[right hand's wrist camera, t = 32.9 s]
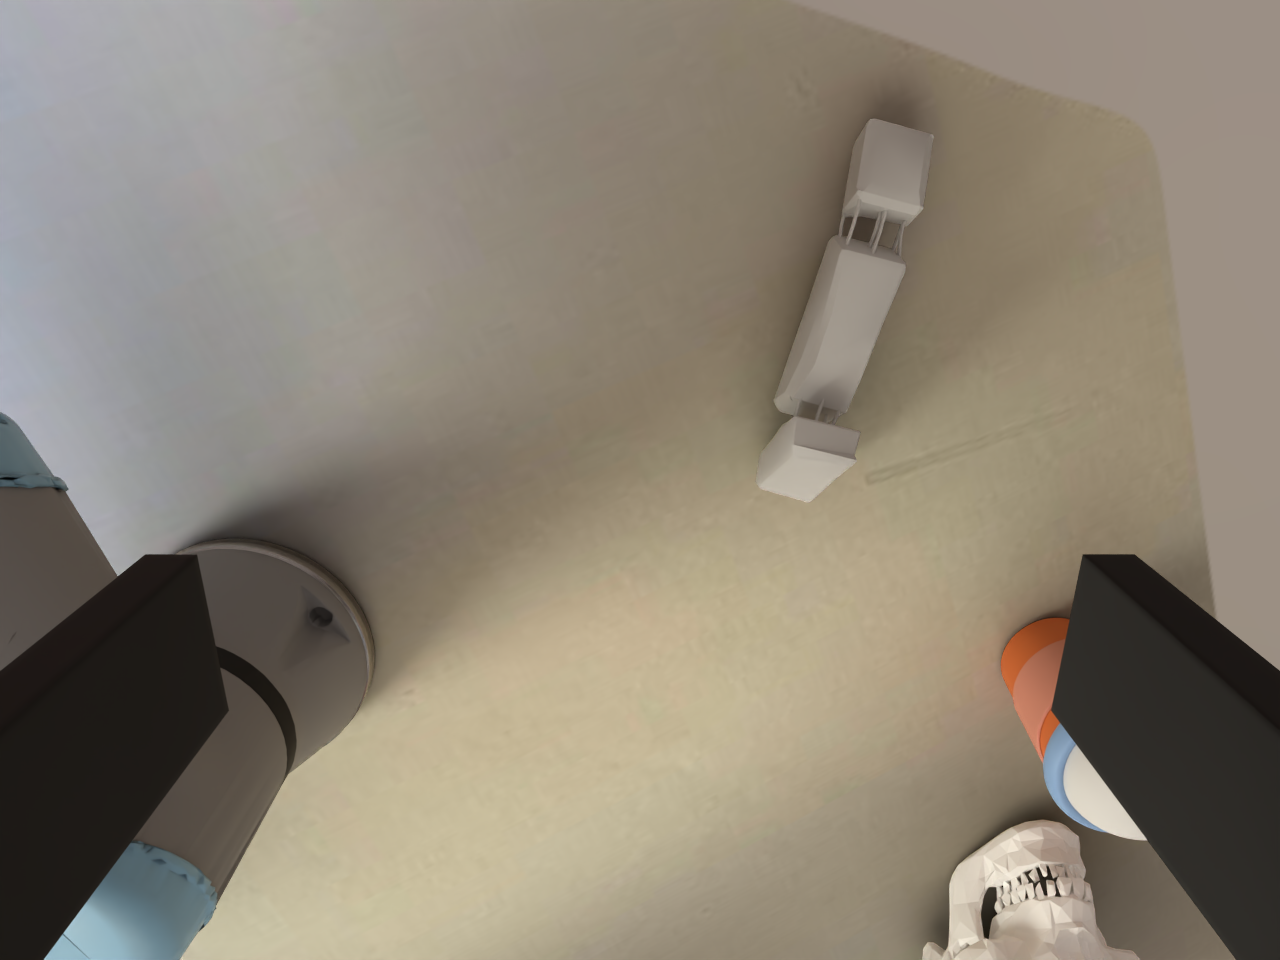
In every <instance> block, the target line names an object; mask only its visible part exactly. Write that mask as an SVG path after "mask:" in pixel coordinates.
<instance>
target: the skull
mask: <svg viewBox="0 0 1280 960" xmlns="http://www.w3.org/2000/svg"><path fill="white" fill-rule="evenodd" d="M1046 866H1049V868H1050V871H1051V874H1052V877H1053V879H1054V878H1055V877H1057V876H1058V874H1059V877H1058V878H1057V881H1056V884H1057V887H1058V890H1059V892H1060V895H1061V897H1055V894H1056V889H1055V883H1054V881H1052V880H1046V883H1047V895H1048V896H1045V895H1044V894H1043V891H1042V888H1041V885H1040V882H1039V883H1038V885H1037V886H1036V889H1035V893H1036V895H1037V896H1036V897H1035V893H1034V887H1033V883H1030V884H1028V883H1029V881H1028V879H1027V876H1026V875H1025V872H1028V871H1030V870H1032V869H1033V870H1032V871H1031V872H1030V874H1028V875H1029V876H1030V878H1031V879H1032V880H1033V882H1034V883H1036V882H1038V881H1039V880H1040V879H1039V876H1038V873H1037V870H1036V868H1038V867H1039V868H1040V870H1041V872H1042V875H1043V877H1046V876H1047V868H1046ZM1059 866H1062V867H1059ZM1055 867H1056V868H1055ZM1056 869H1057V870H1056ZM1065 873H1066V877H1065ZM1085 873H1086V869H1085V866H1084V864H1083V862H1082V859H1081V857H1080V842H1079V836H1077V835H1076V834H1075V833H1074V832H1072V831H1071V830H1070V829H1069V828H1068V827H1067V826H1065V825H1064V824H1062V823H1059V822H1054V821H1049V820H1035V821H1028V822H1024V823H1021V824H1019V825H1016V826H1013V827H1011V828H1009V829H1007V830H1005V831H1004V832H1002V833H1001V834H999V835H998V836H996V837H995V838H994V839H992V840H991V841H989V842H988V843H986V844H985V845H984V846H982V847H981V848H979V849H978V850H977V851H975V852H974V853H972V854H971V855H969V856H968V857H967V858H965V859H964V860H963V861H962V862H961V863H960V864H959V865H958V866H957V868H956V869H955V871H954V873H953V874H952V877H951V881H950V884H949V898H950V921H949V944H948V947H947V949H946V951H945V950H944V949H943V948H941V947H940V946H938V945H937V944H936V943H932V942H927V944H926V945H925V947H924V948H923V956H922V960H1140V959H1139V958H1138V957H1137V955H1136V954H1135V953H1134V952H1133V951H1132V950H1123V949H1115V948H1112V947H1109V946H1107V944H1106V941H1105V938H1104V937H1103V935H1102V933H1101V931H1100V930H1099V928H1098V926H1097V924H1096V918H1095V908H1094V904H1093V896H1092V891H1091V888H1090V884H1089V883H1087V882H1085V881H1084V880H1083V879H1084V878H1085ZM1019 878H1021V882H1022V885H1021V883H1020V882H1019V880H1018V879H1019ZM1009 882H1011V884H1010V883H1009ZM1002 885H1003V889H1002V887H1001V886H1002ZM1024 885H1025V886H1024ZM989 887H996V889H997V901H996V903H995V907H994V908H995V910H996V912H997V915H996V916H995V917H994V918H992V922H991V927H990V934H989V939H986V938H985V937H984V934H983V927H982V920H981V910H982V904H983V898H984V895H985V893H986V891H987V890H988V888H989ZM1003 890H1004V891H1003ZM1026 891H1027V894H1028V898H1027V899H1025V897H1026ZM1009 893H1010V894H1011V895H1010V894H1009ZM1013 903H1014V904H1013Z"/></svg>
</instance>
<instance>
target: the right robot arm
mask: <svg viewBox="0 0 1280 960" xmlns="http://www.w3.org/2000/svg"><path fill="white" fill-rule="evenodd" d="M67 490H68V487H67V486H66V484H65V482H64V481H63V480H62V479H60V478H58V477H54V476H53V474H52V473H51V471H50V470H49V468H48V467H47V466H46V464H45V463H44V461H43V460H42V458H41V457H40V456H39V454H38V453H37V451H36V450H35V449H34V447H33V446H32V444H31V443H30V441H29V440H28V439H27V437H26V436H25V434H24V433H23V431H22V430H21V429H20V427H19V426H18V425H17V424H16V423H15V422H14V421H13V420H12V419H11V418H9V417H8V416H7V415H5V414H3V413H1V412H0V960H180V958H181V957H182V955H183V954H184V952H185V951H186V949H187V948H188V946H189V945H190V943H191V942H192V940H193V939H194V937H195V936H196V934H197V933H198V932H199V931H200V930H201V929H202V928H203V927H204V926H205V925H206V924H207V923H208V922H209V920H210V919H211V918H212V915H213V912H214V910H215V909H216V905H217V903H218V901H219V899H220V897H221V895H222V894H223V892H224V890H225V888H226V886H227V884H228V883H229V881H230V879H231V877H232V875H233V873H234V872H235V870H236V868H237V866H238V864H239V863H240V861H241V859H242V857H243V855H244V853H245V852H246V850H247V848H248V846H249V844H250V842H251V841H252V839H253V837H254V835H255V833H256V831H257V830H258V828H259V826H260V824H261V822H262V820H263V819H264V817H265V815H266V813H267V811H268V810H269V808H270V806H271V804H272V802H273V800H274V799H275V797H276V795H277V793H278V791H279V789H280V787H281V785H282V784H283V782H284V780H285V778H286V777H287V775H288V774H289V773H290V772H292V771H293V770H294V769H296V768H297V767H298V766H299V765H301V764H302V763H303V762H305V761H306V760H307V759H308V758H310V757H311V756H312V755H313V754H315V753H316V752H317V751H318V750H320V749H321V748H322V747H324V746H325V745H327V744H328V743H329V742H331V741H332V740H333V739H334V738H335V737H336V736H338V735H339V734H340V733H341V731H342V730H343V729H344V728H345V727H346V726H347V725H348V724H349V722H350V721H351V720H352V718H353V717H354V716H355V714H356V712H357V711H358V709H359V707H360V705H361V703H362V702H363V700H364V698H365V696H366V693H367V691H368V689H369V687H370V684H371V680H372V677H373V671H374V662H375V654H374V644H373V638H372V634H371V631H370V628H369V625H368V622H367V620H366V618H365V616H364V614H363V612H362V610H361V608H360V606H359V605H358V603H357V602H356V600H355V599H354V597H353V596H352V595H351V593H350V592H349V591H348V590H347V589H346V587H345V586H344V585H343V584H342V583H341V582H340V581H339V580H338V579H337V578H336V577H334V576H333V575H332V574H331V573H330V572H329V571H327V570H326V569H325V568H323V567H322V566H321V565H319V564H318V563H316V562H314V561H313V560H311V559H310V558H308V557H306V556H304V555H302V554H300V553H298V552H296V551H293V550H291V549H288V548H286V547H283V546H280V545H277V544H273V543H269V542H265V541H260V540H253V539H241V538H230V539H218V540H211V541H207V542H202V543H199V544H196V545H193V546H190V547H188V548H186V549H183V550H181V551H179V552H178V553H176V554H174V555H144V556H143V557H142V558H140V559H139V560H138V561H137V562H135V563H134V564H133V565H132V566H130V567H129V568H128V569H127V570H126V571H124V572H123V573H122V574H121V575H119V576H117V575H116V573H115V571H114V570H113V568H112V566H111V565H110V563H109V562H108V560H107V558H106V557H105V555H104V554H103V552H102V550H101V549H100V547H99V545H98V544H97V542H96V541H95V539H94V537H93V536H92V534H91V532H90V531H89V529H88V528H87V526H86V524H85V523H84V521H83V520H82V518H81V516H80V515H79V513H78V511H77V510H76V508H75V507H74V505H73V503H72V502H71V500H70V499H69V497H68V495H67V494H66V491H67ZM1051 711H1052V713H1053V714H1054V715H1055V717H1056V718H1057V719H1058V721H1059V722H1060V723H1061V725H1062V726H1063V727H1064V729H1065V730H1066V731H1067V733H1068V734H1069V736H1070V737H1071V738H1072V740H1073V741H1074V742H1075V744H1076V745H1077V746H1078V748H1079V749H1080V750H1081V752H1082V753H1083V754H1084V756H1085V757H1086V758H1087V760H1088V761H1089V762H1090V764H1091V765H1092V766H1093V768H1094V769H1095V770H1096V772H1097V773H1098V774H1099V776H1100V777H1101V779H1102V780H1103V781H1104V783H1105V784H1106V785H1107V787H1108V788H1109V789H1110V791H1111V792H1112V793H1113V795H1114V796H1115V797H1116V799H1117V800H1118V801H1119V803H1120V804H1121V805H1122V807H1123V808H1124V809H1125V811H1126V812H1127V813H1128V815H1129V816H1130V818H1131V819H1132V820H1133V822H1134V823H1135V824H1136V826H1137V827H1138V828H1139V830H1140V831H1141V832H1142V834H1143V835H1144V836H1145V838H1146V839H1147V840H1148V842H1149V843H1150V844H1151V846H1152V847H1153V848H1154V850H1155V851H1156V852H1157V854H1158V855H1159V857H1160V858H1161V859H1162V861H1163V862H1164V863H1165V865H1166V866H1167V867H1168V869H1169V870H1170V871H1171V873H1172V874H1173V875H1174V877H1175V878H1176V879H1177V881H1178V882H1179V883H1180V885H1181V886H1182V887H1183V889H1184V890H1185V891H1186V893H1187V894H1188V895H1189V897H1190V898H1191V900H1192V901H1193V902H1194V904H1195V905H1196V906H1197V908H1198V909H1199V910H1200V912H1201V913H1202V914H1203V916H1204V917H1205V918H1206V920H1207V921H1208V922H1209V924H1210V925H1211V926H1212V928H1213V929H1214V930H1215V932H1216V933H1217V934H1218V936H1219V937H1220V939H1221V940H1222V941H1223V943H1224V944H1225V945H1226V947H1227V948H1228V949H1229V951H1230V952H1231V953H1232V955H1233V956H1234V957H1235V959H1236V960H1280V671H1279V670H1278V669H1277V668H1275V667H1274V666H1273V665H1272V664H1270V663H1269V662H1268V661H1267V660H1266V659H1264V658H1263V657H1262V656H1261V655H1259V654H1258V653H1257V652H1256V651H1254V650H1253V649H1252V648H1250V647H1249V646H1248V645H1247V644H1246V643H1244V642H1243V641H1242V640H1241V639H1239V638H1238V637H1237V636H1236V635H1234V634H1233V633H1232V632H1231V631H1229V630H1228V629H1227V628H1226V627H1224V626H1223V625H1222V624H1221V623H1219V622H1218V621H1217V620H1216V619H1214V618H1213V617H1212V616H1211V615H1209V614H1208V613H1207V612H1206V611H1204V610H1203V609H1202V608H1201V607H1199V606H1198V605H1197V604H1196V603H1194V602H1193V601H1192V600H1191V599H1189V598H1188V597H1187V596H1186V595H1184V594H1183V593H1182V592H1181V591H1179V590H1178V589H1177V588H1176V587H1174V586H1173V585H1172V584H1171V583H1169V582H1168V581H1167V580H1166V579H1164V578H1163V577H1162V576H1161V575H1159V574H1158V573H1157V572H1156V571H1154V570H1153V569H1152V568H1151V567H1150V566H1148V565H1147V564H1146V563H1145V562H1143V561H1142V560H1141V559H1140V558H1138V557H1137V556H1136V555H1083V556H1082V561H1081V566H1080V571H1079V576H1078V581H1077V586H1076V591H1075V595H1074V600H1073V605H1072V610H1071V615H1070V620H1069V625H1068V630H1067V635H1066V639H1065V644H1064V649H1063V654H1062V659H1061V664H1060V669H1059V674H1058V679H1057V684H1056V688H1055V693H1054V698H1053V703H1052V708H1051Z"/></svg>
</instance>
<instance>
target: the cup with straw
mask: <svg viewBox="0 0 1280 960" xmlns="http://www.w3.org/2000/svg"><path fill="white" fill-rule="evenodd" d="M1069 620H1070V619H1066V618H1048V619H1043V620H1039V621H1036V622H1034V623H1031V624H1029V625H1028V626H1026V627H1024V628H1023V629H1021V630H1020V631H1019V632H1018V633H1016V634H1015V635H1014V636H1013V637H1012V639H1011V640H1010V641H1009V643H1008V644H1007V646H1006V648H1005V650H1004V652H1003V655H1002V659H1001V671H1002V676H1003V678H1004V681H1005V683H1006V685H1007V687H1008V689H1009V691H1010V693H1011V695H1012V697H1013V701H1014V706H1015V709H1016V711H1017V713H1018V715H1019V717H1020V719H1021V721H1022V723H1023V725H1024V727H1025V729H1026V731H1027V733H1028V735H1029V737H1030V739H1031V741H1032V743H1033V745H1034V747H1035V749H1036V751H1037V753H1038V755H1039V757H1040V759H1041V760H1042V762H1043V773H1044V779H1045V782H1046V786H1047V788H1048V791H1049V793H1050V795H1051V796H1052V798H1053V800H1054V801H1055V803H1056V804H1057V805H1058V806H1059V807H1060V809H1061V810H1062V811H1064V812H1065V813H1066V814H1067V815H1068V816H1069V817H1071V818H1072V819H1073V820H1075V821H1076V822H1078V823H1080V824H1082V825H1084V826H1086V827H1088V828H1091V829H1094V830H1097V831H1101V832H1107V833H1111V834H1113V835H1116V836H1120V837H1123V838H1127V839H1134V840H1147V839H1146V838H1145V836H1144V835H1143V834H1142V832H1141V831H1140V830H1139V828H1138V827H1137V826H1136V824H1135V823H1134V822H1133V820H1132V819H1131V818H1130V816H1129V815H1128V813H1127V812H1126V811H1125V809H1124V808H1123V807H1122V805H1121V804H1120V803H1119V801H1118V800H1117V799H1116V797H1115V796H1114V795H1113V793H1112V792H1111V791H1110V789H1109V788H1108V787H1107V785H1106V784H1105V783H1104V781H1103V780H1102V779H1101V777H1100V776H1099V774H1098V773H1097V772H1096V770H1095V769H1094V768H1093V766H1092V765H1091V764H1090V762H1089V761H1088V760H1087V758H1086V757H1085V756H1084V754H1083V753H1082V752H1081V750H1080V749H1079V748H1078V746H1077V745H1076V744H1075V742H1074V741H1073V740H1072V738H1071V737H1070V736H1069V734H1068V733H1067V731H1066V730H1065V729H1064V727H1063V726H1062V725H1061V723H1060V722H1059V721H1058V719H1057V718H1056V717H1055V715H1054V714H1053V713H1052V711H1051V708H1052V703H1053V698H1054V693H1055V688H1056V684H1057V679H1058V674H1059V669H1060V664H1061V659H1062V654H1063V649H1064V644H1065V639H1066V635H1067V630H1068V625H1069Z"/></svg>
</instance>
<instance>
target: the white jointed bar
mask: <svg viewBox="0 0 1280 960" xmlns="http://www.w3.org/2000/svg"><path fill="white" fill-rule="evenodd" d="M933 138H934V136H933V135H932V134H930V133H926V132H923V131H919V130H915V129H912V128H908V127H905V126H901V125H897V124H894V123H890V122H886V121H883V120H879V119H870V120H868V122H867V123H866V125H865V127H864V128H863V130H862V131H861V133H860V135H859V136H858V138H857V139H856V141H855V143H854V146H853V150H852V156H851V162H850V168H849V174H848V179H847V185H846V191H845V197H844V203H843V209H842V217H841V221H840V227H839V235H835V236H832V238H831V239H830V240H829V241H828V244H827V247H826V250H825V253H824V256H823V259H822V262H821V265H820V268H819V271H818V274H817V277H816V280H815V282H814V285H813V288H812V291H811V294H810V297H809V300H808V303H807V306H806V308H805V311H804V314H803V317H802V320H801V323H800V325H799V328H798V331H797V334H796V337H795V340H794V343H793V345H792V348H791V351H790V354H789V357H788V360H787V363H786V366H785V369H784V371H783V374H782V377H781V380H780V383H779V386H778V389H777V392H776V394H775V397H774V403H775V405H776V407H777V409H778V410H779V411H780V412H782V413H786V414H789V415H793V416H794V417H793V418H791V419H790V420H789V421H788V422H786V423H784V424H782V426H781V427H780V428H779V430H778V431H777V433H776V434H775V436H774V437H773V438H772V440H771V441H770V442H769V443H768V444H767V446H766V447H765V448H764V449H763V450H762V452H761V453H760V455H759V462H758V469H757V476H756V483H757V485H758V487H759V488H760V489H762V490H766V491H769V492H773V493H776V494H780V495H783V496H787V497H790V498H794V499H798V500H801V501H805V502H808V503H809V502H811V501H812V500H814V499H815V498H816V497H817V496H818V495H819V494H820V493H821V492H822V491H824V490H825V489H826V488H827V487H828V486H829V485H830V484H831V483H832V482H833V481H834V480H835V479H837V478H838V477H839V476H840V475H841V474H843V473H844V472H845V471H846V470H847V469H849V468H850V467H851V466H852V465H853V464H855V463H856V462H857V460H856V458H855V452H856V448H857V444H858V441H859V437H860V433H861V432H860V431H857V430H853V429H849V428H845V427H841V426H837V425H835V423H836V421H837V419H838V417H839V416H840V415H842V414H845V413H846V412H847V410H848V408H849V406H850V404H851V401H852V399H853V397H854V395H855V392H856V390H857V388H858V385H859V383H860V381H861V378H862V376H863V374H864V371H865V369H866V366H867V364H868V361H869V359H870V356H871V354H872V351H873V348H874V346H875V343H876V341H877V338H878V336H879V333H880V331H881V328H882V326H883V323H884V321H885V319H886V316H887V314H888V311H889V309H890V307H891V304H892V302H893V300H894V297H895V295H896V292H897V290H898V288H899V285H900V283H901V281H902V278H903V276H904V273H905V269H906V263H905V262H904V261H903V260H902V259H901V250H902V235H903V232H904V228H905V226H908V225H909V224H910V223H911V222H912V221H913V220H914V219H915V218H916V217H917V215H918V214H919V213H920V212H921V211H922V210H923V208H924V200H925V194H926V187H927V181H928V174H929V168H930V160H931V152H932V144H933ZM845 217H853V221H852V224H851V227H850V230H849V233H848V236H847V237H845V236H842V233H843V225H844V220H845ZM857 217H867V218H872V219H876V224H875V227H874V230H873V233H872V236H871V239H870V242H869V243H868V242H864V241H860V240H857V239H853V238H851V236H852V233H853V230H854V227H855V224H856V221H857ZM880 220H881V223H880ZM885 221H886V222H891V223H896V224H900V227H899V230H898V233H897V236H896V239H895V241H894V244H893V247H892V249H891V248H887V247H884V246H880V245H878V242H879V239H880V236H881V233H882V230H883V226H884V223H885ZM879 224H880V226H879ZM878 227H879V230H878ZM877 231H878V233H877ZM876 233H877V236H876ZM875 236H876V239H875ZM874 239H875V242H874ZM873 242H874V244H873ZM897 244H898V253H897V254H896V253H895V249H896V247H897ZM832 420H833V421H832ZM830 421H832V423H831V424H828V422H830Z"/></svg>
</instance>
